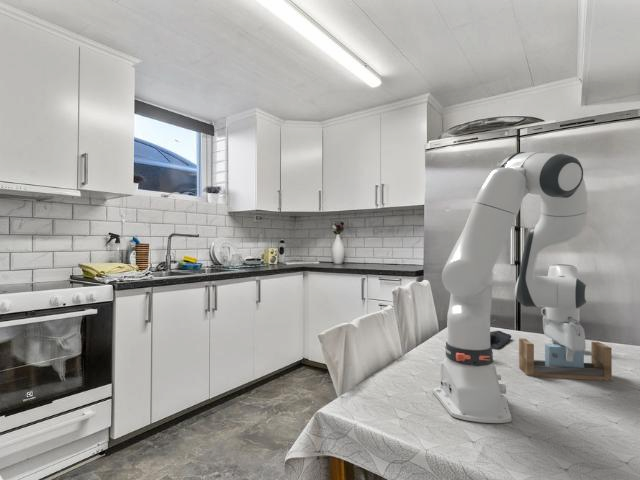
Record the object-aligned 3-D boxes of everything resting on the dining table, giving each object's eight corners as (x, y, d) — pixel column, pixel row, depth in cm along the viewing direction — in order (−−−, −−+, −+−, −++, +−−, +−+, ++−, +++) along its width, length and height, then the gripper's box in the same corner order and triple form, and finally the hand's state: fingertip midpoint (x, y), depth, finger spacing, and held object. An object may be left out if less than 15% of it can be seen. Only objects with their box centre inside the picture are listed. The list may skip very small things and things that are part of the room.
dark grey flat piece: (518, 341, 156) (518, 330, 156) (496, 351, 142) (496, 339, 142) (483, 334, 168) (483, 324, 168) (459, 343, 153) (459, 332, 153)
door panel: (585, 374, 113) (585, 349, 113) (550, 372, 115) (550, 347, 115) (578, 370, 117) (578, 345, 117) (545, 368, 119) (545, 344, 119)
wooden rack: (612, 381, 110) (612, 348, 110) (527, 375, 115) (527, 344, 115) (597, 371, 118) (597, 341, 118) (518, 367, 122) (518, 337, 122)
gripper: (592, 321, 106) (592, 368, 106) (558, 309, 126) (559, 348, 126) (568, 320, 107) (568, 367, 107) (539, 308, 127) (539, 347, 127)
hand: (563, 357), depth 116 cm, fingers open, 6 cm apart
